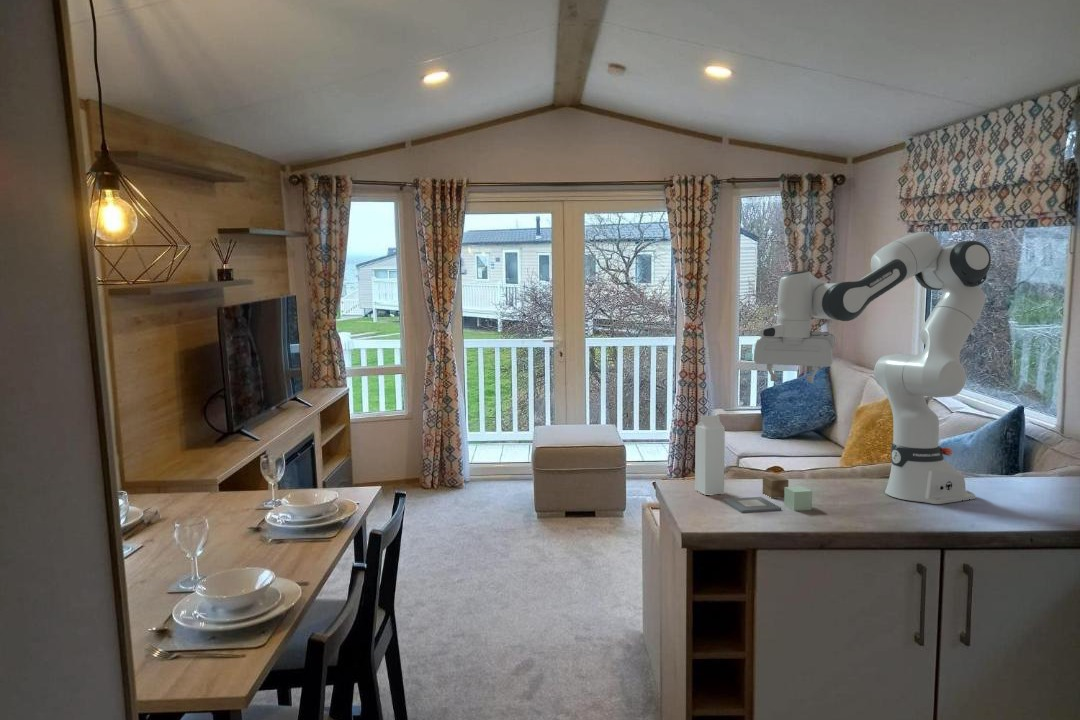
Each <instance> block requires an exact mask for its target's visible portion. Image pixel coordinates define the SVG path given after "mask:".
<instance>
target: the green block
mask: <svg viewBox="0 0 1080 720" xmlns="http://www.w3.org/2000/svg"><path fill="white" fill-rule="evenodd" d="M783 500H784V503H783V504H784V505H785V507H786V508H788V509H789V510H792V511H793V510H794V511H793V512H797V511H798V510H799V511H812V510H813V491H812V490H811V489H809V488H807V487H804V486H803V485H799V486H797V485H796V486H788V487H785V490H784V498H783ZM784 505H783V506H784ZM811 509H812V510H811Z"/></svg>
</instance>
